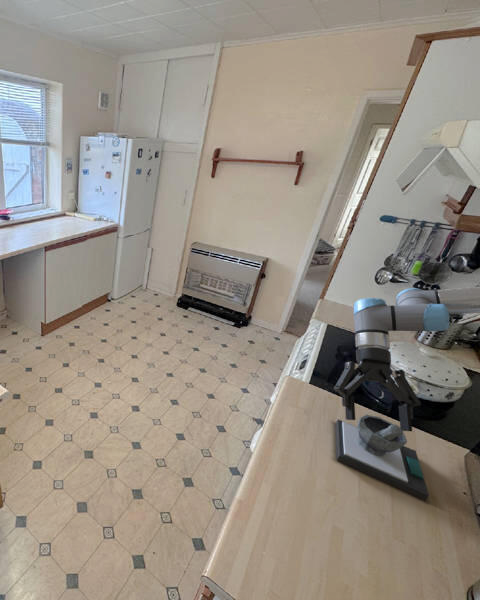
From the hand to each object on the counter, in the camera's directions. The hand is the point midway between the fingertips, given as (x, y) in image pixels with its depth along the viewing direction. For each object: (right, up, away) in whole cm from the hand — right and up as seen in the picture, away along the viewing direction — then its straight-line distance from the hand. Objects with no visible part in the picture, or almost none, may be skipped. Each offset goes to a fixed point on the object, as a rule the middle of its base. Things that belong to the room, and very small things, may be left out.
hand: (378, 425), depth 88 cm
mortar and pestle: (-1, -7, +1) cm, 7 cm away
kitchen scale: (0, -9, +1) cm, 9 cm away
